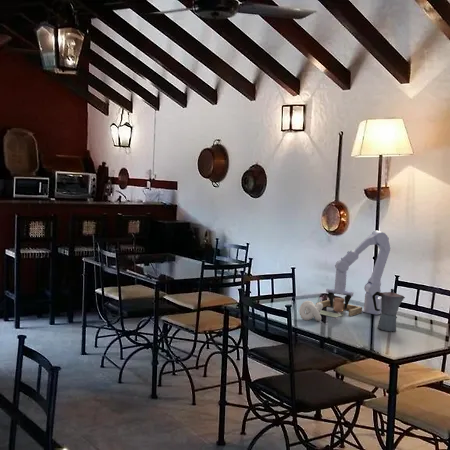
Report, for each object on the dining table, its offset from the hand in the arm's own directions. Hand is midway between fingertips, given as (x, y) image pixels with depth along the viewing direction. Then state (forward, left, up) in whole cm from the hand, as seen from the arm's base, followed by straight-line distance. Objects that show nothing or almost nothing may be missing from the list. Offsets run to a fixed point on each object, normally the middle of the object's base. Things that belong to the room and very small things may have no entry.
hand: (338, 307), depth 334 cm
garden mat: (0, +12, -2) cm, 12 cm away
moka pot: (-35, +16, -2) cm, 39 cm away
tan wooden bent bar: (0, 0, -2) cm, 2 cm away
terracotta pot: (0, 0, -2) cm, 2 cm away
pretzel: (-2, +30, -2) cm, 30 cm away
